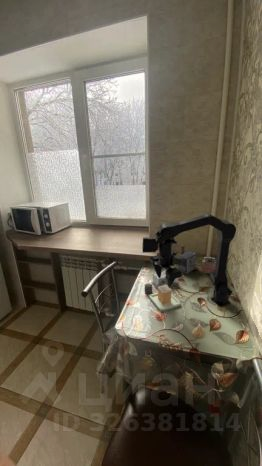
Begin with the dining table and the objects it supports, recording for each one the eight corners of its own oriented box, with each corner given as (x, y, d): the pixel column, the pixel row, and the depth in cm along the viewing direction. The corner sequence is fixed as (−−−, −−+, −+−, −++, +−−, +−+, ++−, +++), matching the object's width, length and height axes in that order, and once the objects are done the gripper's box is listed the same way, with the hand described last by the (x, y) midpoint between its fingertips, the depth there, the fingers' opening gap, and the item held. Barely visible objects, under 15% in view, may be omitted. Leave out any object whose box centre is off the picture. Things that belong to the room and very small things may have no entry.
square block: (171, 301, 100) (171, 289, 97) (162, 304, 98) (162, 291, 96) (165, 296, 104) (166, 284, 101) (157, 298, 102) (158, 286, 100)
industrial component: (187, 259, 143) (188, 243, 139) (188, 264, 136) (189, 247, 132) (173, 258, 145) (174, 242, 141) (173, 263, 138) (174, 247, 134)
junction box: (178, 283, 115) (179, 274, 113) (157, 289, 110) (157, 279, 108) (171, 277, 121) (171, 268, 119) (151, 282, 117) (151, 273, 115)
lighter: (215, 271, 127) (216, 256, 123) (215, 274, 124) (217, 259, 120) (201, 270, 129) (202, 255, 125) (201, 273, 125) (202, 258, 122)
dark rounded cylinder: (153, 293, 108) (153, 286, 106) (146, 295, 106) (146, 288, 105) (150, 289, 111) (150, 282, 110) (143, 291, 110) (143, 284, 108)
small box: (186, 265, 135) (187, 250, 132) (195, 268, 131) (196, 253, 127) (177, 271, 128) (177, 255, 125) (186, 275, 124) (187, 259, 120)
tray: (181, 305, 98) (181, 303, 97) (160, 312, 94) (160, 309, 93) (167, 292, 108) (167, 289, 108) (148, 297, 104) (148, 295, 104)
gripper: (193, 256, 87) (191, 288, 92) (169, 242, 104) (168, 270, 109) (171, 261, 83) (169, 295, 88) (149, 245, 100) (149, 274, 105)
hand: (164, 282), depth 98 cm, fingers open, 9 cm apart
